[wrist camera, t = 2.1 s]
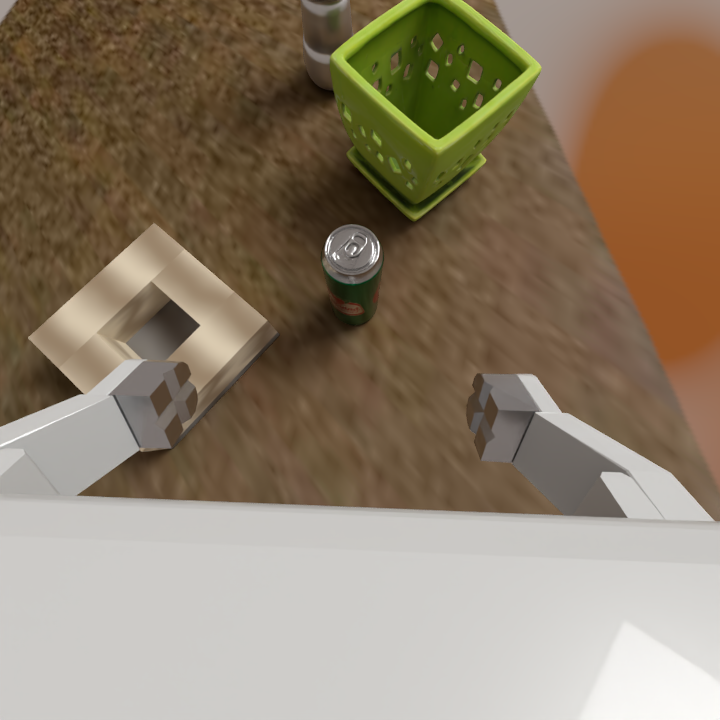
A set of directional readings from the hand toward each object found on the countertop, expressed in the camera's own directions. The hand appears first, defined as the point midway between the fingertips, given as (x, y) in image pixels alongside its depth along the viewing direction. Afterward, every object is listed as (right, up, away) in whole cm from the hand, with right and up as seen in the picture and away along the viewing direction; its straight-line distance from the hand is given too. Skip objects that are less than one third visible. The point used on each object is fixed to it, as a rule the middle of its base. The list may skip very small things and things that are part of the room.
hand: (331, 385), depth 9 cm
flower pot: (+7, +24, +31) cm, 40 cm away
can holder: (-19, +3, +27) cm, 33 cm away
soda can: (0, +7, +28) cm, 29 cm away
